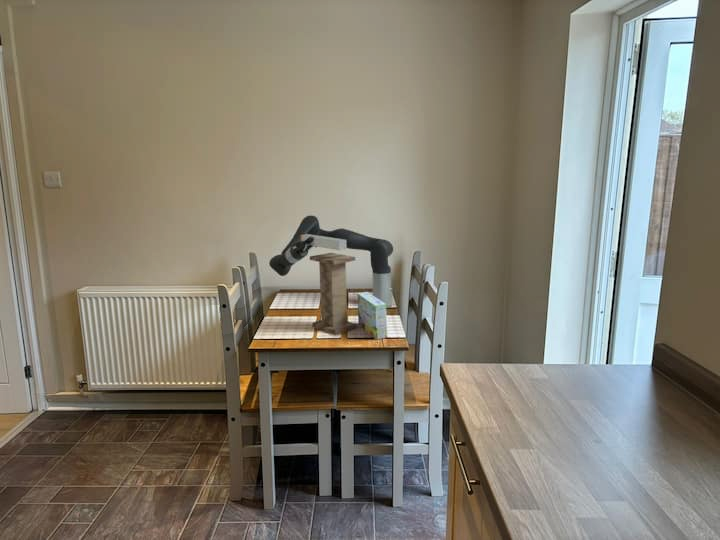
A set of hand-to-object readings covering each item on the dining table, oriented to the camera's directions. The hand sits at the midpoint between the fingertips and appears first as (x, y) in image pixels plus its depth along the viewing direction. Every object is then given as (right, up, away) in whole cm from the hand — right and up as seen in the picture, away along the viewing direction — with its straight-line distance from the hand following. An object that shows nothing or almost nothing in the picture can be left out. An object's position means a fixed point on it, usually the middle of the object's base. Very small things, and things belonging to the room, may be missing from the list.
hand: (316, 237), depth 213 cm
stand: (+8, -40, +1) cm, 41 cm away
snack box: (+25, -41, -5) cm, 48 cm away
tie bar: (+3, -4, -3) cm, 6 cm away
